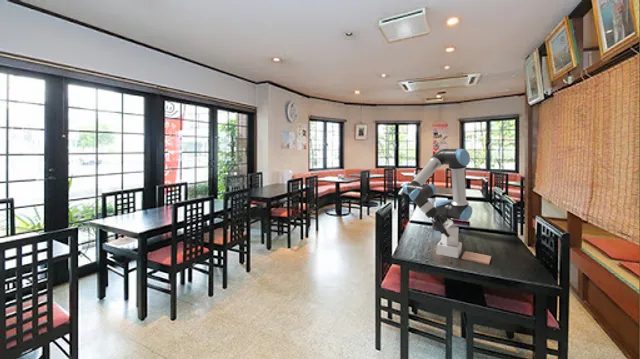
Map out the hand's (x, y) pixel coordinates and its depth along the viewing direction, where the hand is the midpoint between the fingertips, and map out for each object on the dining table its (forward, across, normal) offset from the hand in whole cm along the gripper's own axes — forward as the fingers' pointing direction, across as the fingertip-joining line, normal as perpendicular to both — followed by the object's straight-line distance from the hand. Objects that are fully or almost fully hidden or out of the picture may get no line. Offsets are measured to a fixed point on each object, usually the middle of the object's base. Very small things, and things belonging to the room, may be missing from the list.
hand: (454, 238), depth 174 cm
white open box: (+5, 0, -9) cm, 10 cm away
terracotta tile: (+16, 0, +1) cm, 16 cm away
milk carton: (+4, 0, -8) cm, 9 cm away
